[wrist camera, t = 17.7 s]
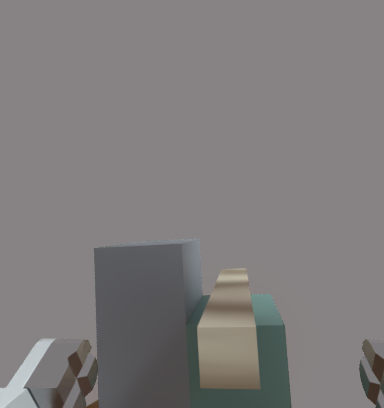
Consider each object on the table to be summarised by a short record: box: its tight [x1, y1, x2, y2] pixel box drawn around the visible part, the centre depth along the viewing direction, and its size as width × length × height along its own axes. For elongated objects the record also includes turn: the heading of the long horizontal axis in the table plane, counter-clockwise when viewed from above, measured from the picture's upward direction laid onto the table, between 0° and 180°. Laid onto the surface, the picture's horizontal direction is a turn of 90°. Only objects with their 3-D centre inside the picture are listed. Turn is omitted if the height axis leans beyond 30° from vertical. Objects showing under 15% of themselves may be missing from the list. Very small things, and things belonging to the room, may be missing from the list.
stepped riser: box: [94, 239, 291, 408], centre depth 26 cm, size 10×14×25 cm
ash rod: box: [197, 269, 260, 389], centre depth 23 cm, size 19×3×3 cm, turn 171°
